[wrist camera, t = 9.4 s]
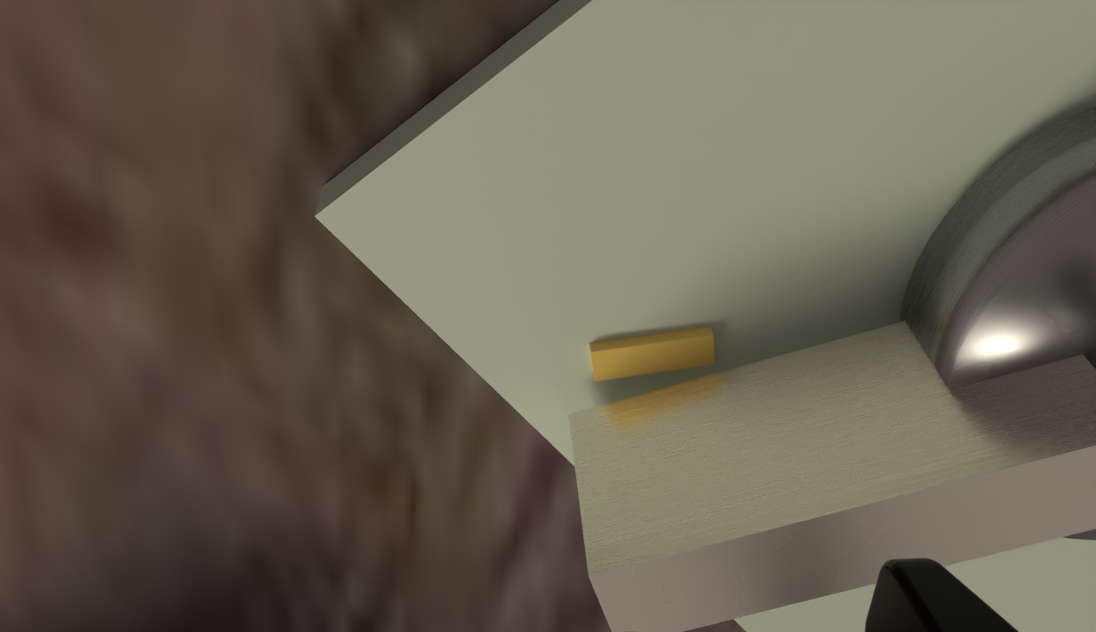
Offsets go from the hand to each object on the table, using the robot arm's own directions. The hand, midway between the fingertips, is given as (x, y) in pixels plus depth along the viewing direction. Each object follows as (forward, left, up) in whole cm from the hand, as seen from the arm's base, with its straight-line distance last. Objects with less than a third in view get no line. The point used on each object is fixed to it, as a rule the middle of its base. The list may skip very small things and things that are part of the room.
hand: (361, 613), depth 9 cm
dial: (-7, -5, -7) cm, 12 cm away
